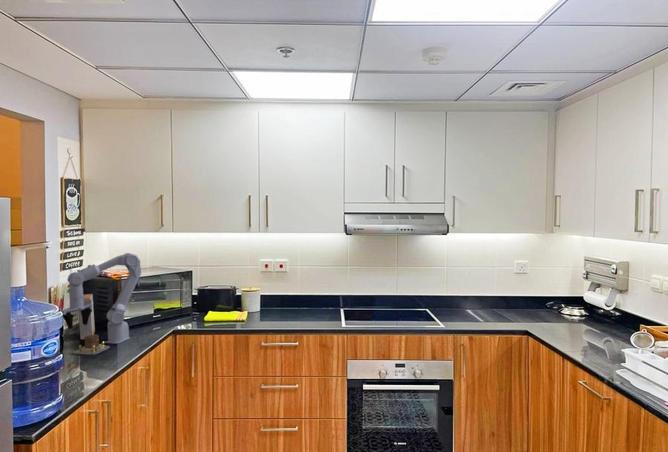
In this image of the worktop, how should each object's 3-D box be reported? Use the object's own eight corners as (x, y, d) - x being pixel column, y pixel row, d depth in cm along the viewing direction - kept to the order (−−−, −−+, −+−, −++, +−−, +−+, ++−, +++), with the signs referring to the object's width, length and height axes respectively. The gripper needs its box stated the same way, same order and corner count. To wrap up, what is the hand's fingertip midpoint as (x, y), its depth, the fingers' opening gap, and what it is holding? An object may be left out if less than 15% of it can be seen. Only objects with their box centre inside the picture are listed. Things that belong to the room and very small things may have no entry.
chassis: (90, 347, 214) (89, 339, 213) (109, 347, 211) (109, 340, 211) (73, 353, 204) (73, 346, 204) (94, 354, 201) (93, 347, 201)
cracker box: (82, 333, 239) (80, 294, 238) (95, 331, 241) (93, 293, 240) (79, 340, 226) (77, 299, 225) (92, 338, 228) (90, 297, 228)
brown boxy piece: (90, 345, 212) (89, 333, 212) (106, 346, 210) (106, 333, 210) (77, 351, 205) (76, 338, 204) (94, 351, 202) (93, 338, 202)
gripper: (68, 301, 203) (69, 331, 203) (96, 295, 216) (97, 323, 217) (57, 300, 206) (58, 329, 206) (85, 294, 219) (87, 322, 220)
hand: (77, 326), depth 212 cm, fingers open, 7 cm apart
